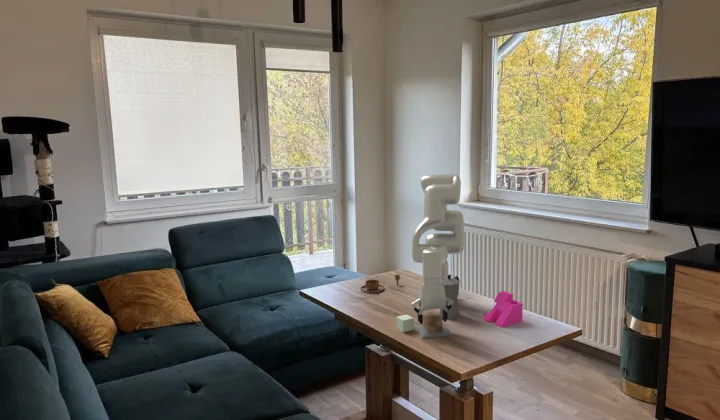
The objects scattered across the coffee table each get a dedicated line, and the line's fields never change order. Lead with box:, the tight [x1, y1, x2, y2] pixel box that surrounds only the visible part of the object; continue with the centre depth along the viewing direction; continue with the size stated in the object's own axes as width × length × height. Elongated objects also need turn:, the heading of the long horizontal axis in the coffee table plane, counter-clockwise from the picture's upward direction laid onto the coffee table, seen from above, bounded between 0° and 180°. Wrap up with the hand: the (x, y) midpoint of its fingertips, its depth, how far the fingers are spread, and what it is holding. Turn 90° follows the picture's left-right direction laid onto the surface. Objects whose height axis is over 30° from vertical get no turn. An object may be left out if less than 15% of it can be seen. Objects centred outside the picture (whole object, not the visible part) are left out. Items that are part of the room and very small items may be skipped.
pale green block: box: [396, 314, 415, 333], centre depth 210 cm, size 5×5×5 cm
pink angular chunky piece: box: [482, 290, 524, 328], centre depth 215 cm, size 12×10×10 cm
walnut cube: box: [422, 311, 444, 333], centre depth 207 cm, size 6×6×6 cm
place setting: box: [360, 274, 401, 294], centre depth 263 cm, size 18×20×6 cm
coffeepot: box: [438, 274, 461, 320], centre depth 224 cm, size 15×9×18 cm, turn 144°
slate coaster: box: [414, 322, 453, 339], centre depth 207 cm, size 12×12×1 cm
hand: (432, 322), depth 207 cm, fingers open, 9 cm apart
